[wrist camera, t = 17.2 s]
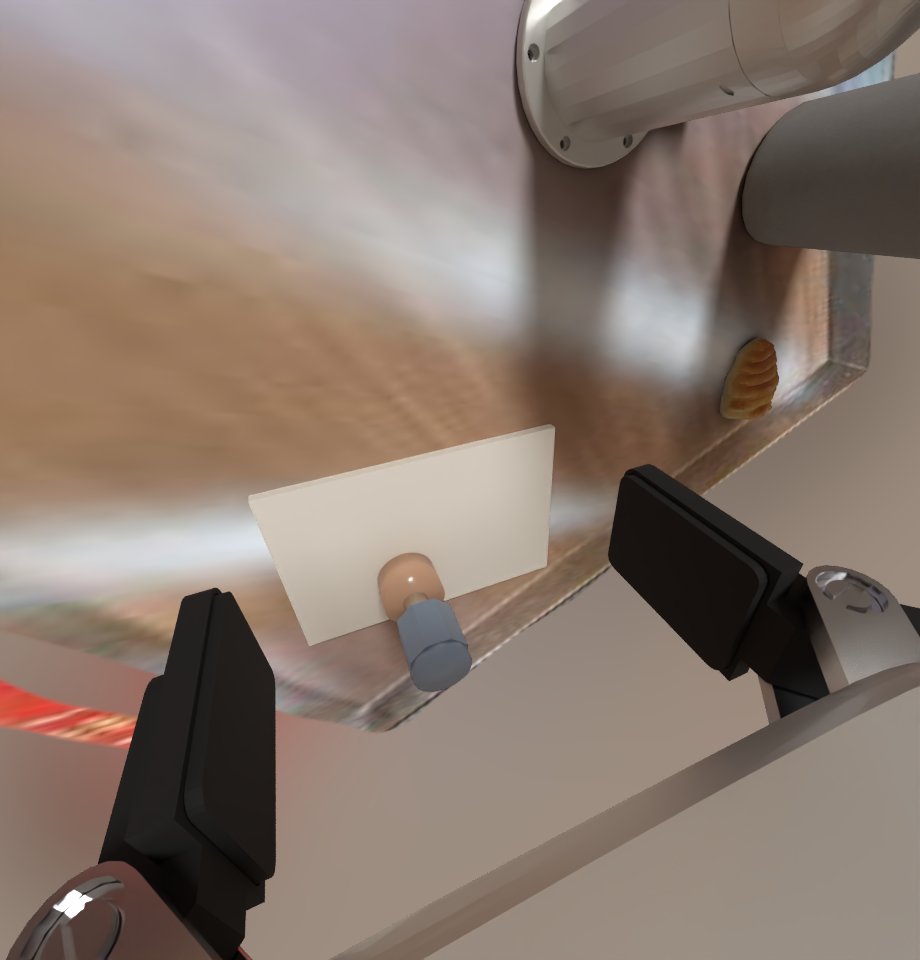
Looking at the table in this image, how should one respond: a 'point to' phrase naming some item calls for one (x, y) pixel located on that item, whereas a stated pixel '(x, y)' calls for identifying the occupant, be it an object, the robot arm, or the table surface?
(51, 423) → the table surface
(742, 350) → the pastry
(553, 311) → the table surface
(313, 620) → the board
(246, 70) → the table surface
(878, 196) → the canister
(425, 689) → the cap
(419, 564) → the round stamp handle
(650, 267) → the table surface
